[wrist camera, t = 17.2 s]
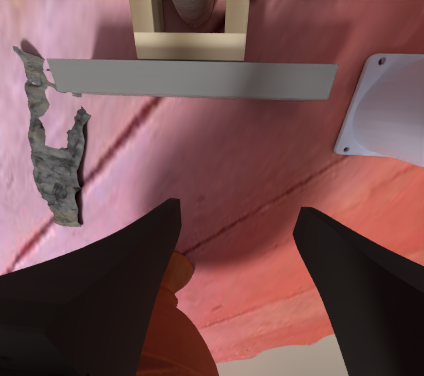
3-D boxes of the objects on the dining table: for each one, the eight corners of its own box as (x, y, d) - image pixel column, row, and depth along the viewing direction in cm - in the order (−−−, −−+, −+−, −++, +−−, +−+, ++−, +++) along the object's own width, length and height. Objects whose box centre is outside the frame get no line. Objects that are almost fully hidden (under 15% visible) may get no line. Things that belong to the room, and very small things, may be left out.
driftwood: (85, 228, 25) (74, 238, 23) (39, 212, 24) (24, 220, 22) (101, 84, 16) (85, 81, 14) (31, 50, 16) (4, 42, 14)
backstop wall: (310, 74, 14) (338, 64, 11) (303, 101, 15) (328, 99, 11) (88, 69, 15) (46, 58, 12) (95, 94, 16) (57, 91, 12)
